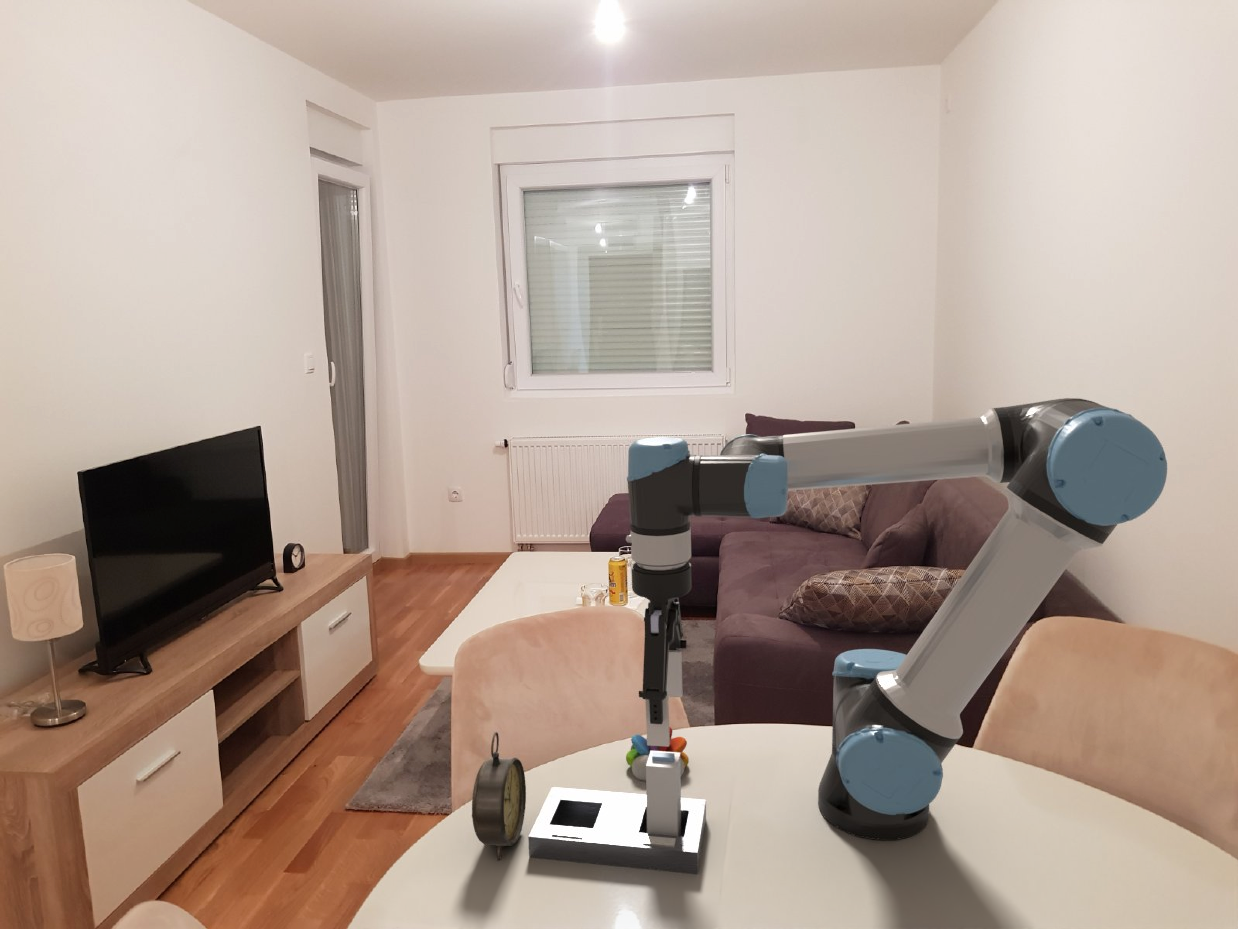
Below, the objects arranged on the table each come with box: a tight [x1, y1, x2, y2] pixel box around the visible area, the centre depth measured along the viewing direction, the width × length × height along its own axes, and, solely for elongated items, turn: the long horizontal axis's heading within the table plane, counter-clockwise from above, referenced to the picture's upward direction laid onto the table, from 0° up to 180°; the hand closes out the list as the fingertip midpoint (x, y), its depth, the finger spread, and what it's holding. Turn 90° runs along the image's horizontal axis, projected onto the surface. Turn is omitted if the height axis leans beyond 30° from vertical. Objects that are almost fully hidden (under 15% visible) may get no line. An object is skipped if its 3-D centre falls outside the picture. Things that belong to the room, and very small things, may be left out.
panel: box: [528, 786, 707, 875], centre depth 119 cm, size 22×12×4 cm, turn 79°
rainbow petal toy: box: [625, 726, 690, 781], centre depth 137 cm, size 8×10×7 cm
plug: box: [645, 751, 682, 837], centre depth 117 cm, size 4×4×13 cm
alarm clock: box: [471, 731, 527, 862], centre depth 118 cm, size 11×5×16 cm, turn 171°
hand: (665, 719), depth 115 cm, fingers open, 13 cm apart
